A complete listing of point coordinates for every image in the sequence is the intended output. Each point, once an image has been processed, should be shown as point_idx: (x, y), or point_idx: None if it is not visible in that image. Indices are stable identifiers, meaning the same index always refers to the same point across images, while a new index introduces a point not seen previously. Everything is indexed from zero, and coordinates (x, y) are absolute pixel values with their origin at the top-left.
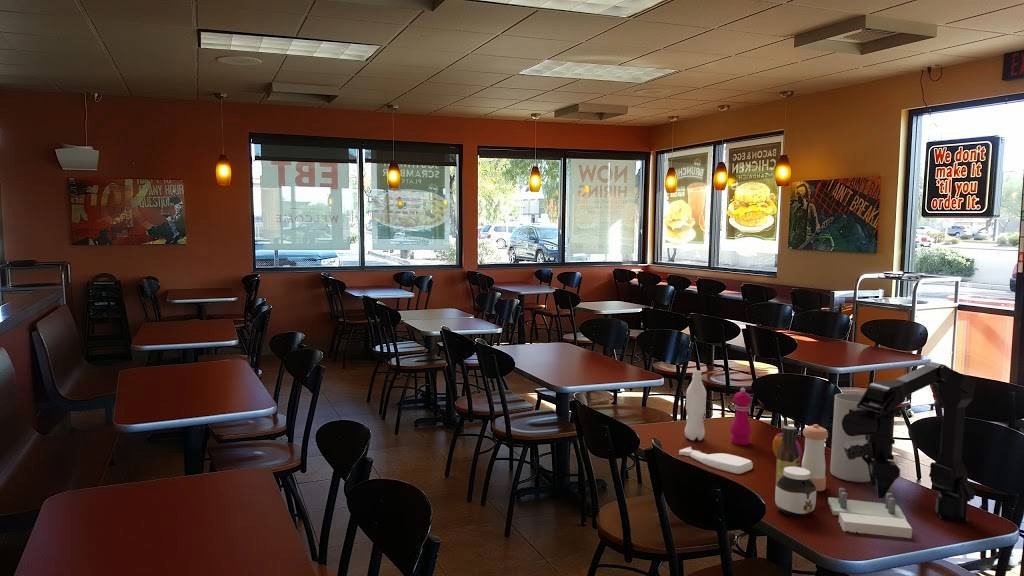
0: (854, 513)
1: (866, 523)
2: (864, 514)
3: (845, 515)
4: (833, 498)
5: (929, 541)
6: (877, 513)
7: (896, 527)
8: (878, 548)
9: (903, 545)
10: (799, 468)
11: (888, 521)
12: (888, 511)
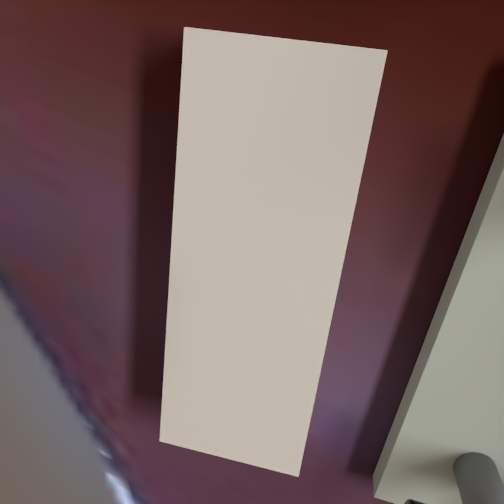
0: (480, 223)
1: (179, 200)
2: (454, 289)
3: (321, 88)
4: None
5: (157, 459)
6: (470, 383)
7: (165, 367)
8: (4, 171)
9: (80, 321)
10: None
11: (241, 364)
12: (480, 460)
